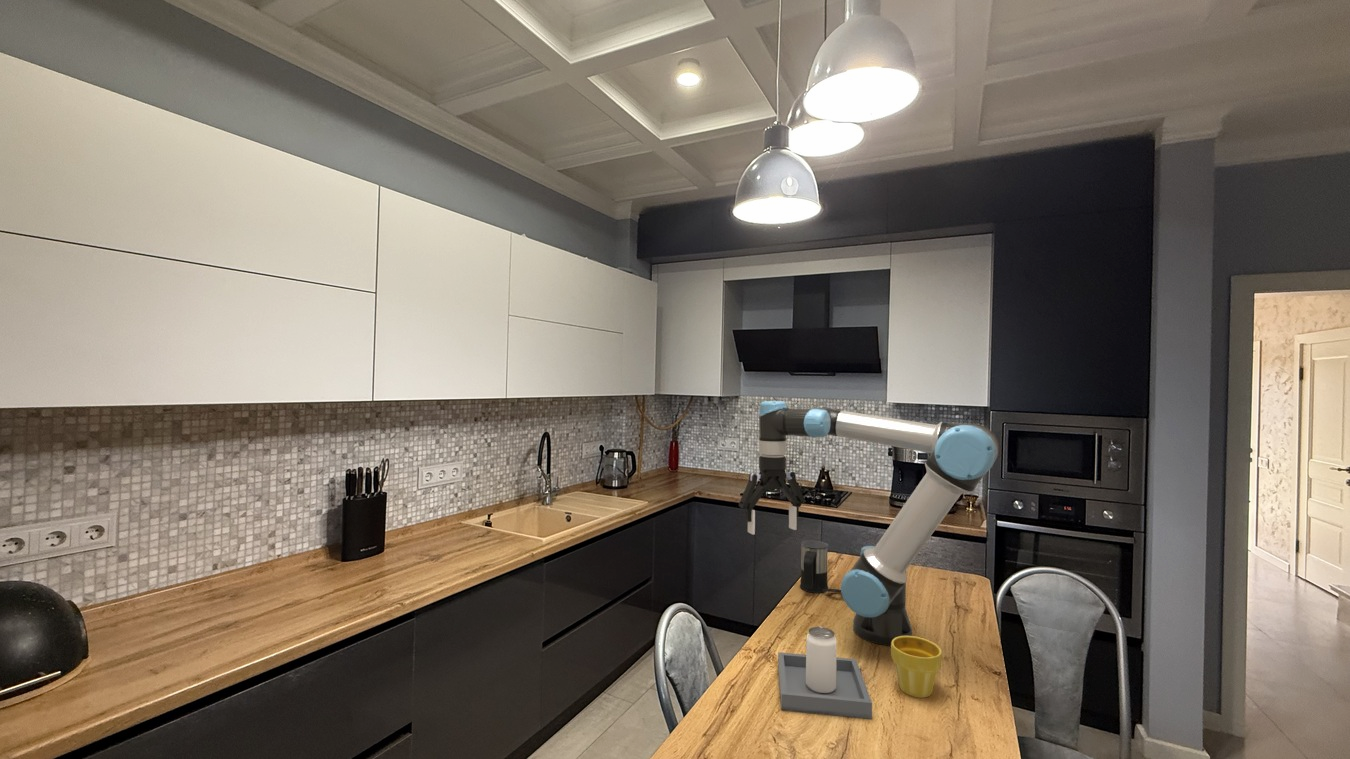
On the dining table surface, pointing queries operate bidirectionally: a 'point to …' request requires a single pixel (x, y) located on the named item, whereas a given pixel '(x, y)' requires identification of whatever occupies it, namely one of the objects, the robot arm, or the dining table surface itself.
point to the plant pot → (916, 664)
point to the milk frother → (814, 567)
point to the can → (821, 660)
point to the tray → (840, 702)
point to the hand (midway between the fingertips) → (772, 531)
